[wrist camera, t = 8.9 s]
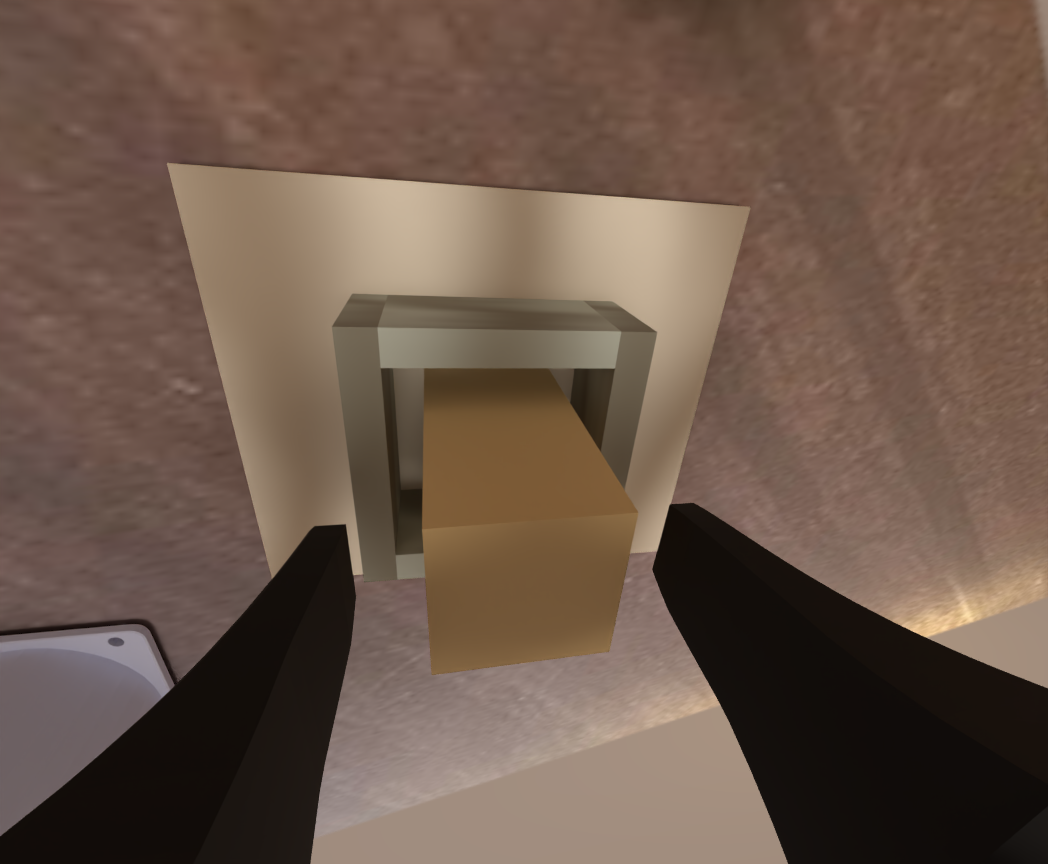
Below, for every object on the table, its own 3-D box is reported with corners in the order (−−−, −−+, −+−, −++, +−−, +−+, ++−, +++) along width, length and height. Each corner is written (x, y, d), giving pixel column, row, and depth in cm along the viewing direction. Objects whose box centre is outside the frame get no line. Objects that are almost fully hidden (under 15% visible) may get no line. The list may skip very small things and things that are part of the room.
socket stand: (277, 570, 19) (242, 660, 15) (177, 163, 12) (77, 159, 8) (652, 541, 22) (695, 612, 18) (739, 205, 15) (832, 215, 12)
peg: (429, 470, 17) (431, 674, 10) (424, 365, 15) (421, 529, 8) (537, 464, 18) (609, 651, 11) (545, 364, 16) (638, 512, 9)
